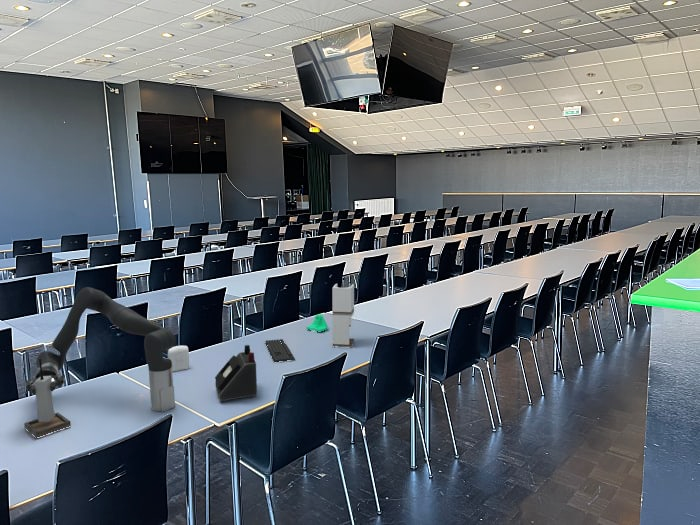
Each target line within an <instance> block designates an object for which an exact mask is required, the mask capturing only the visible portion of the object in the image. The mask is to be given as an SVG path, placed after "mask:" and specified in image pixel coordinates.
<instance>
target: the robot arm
mask: <svg viewBox="0 0 700 525" xmlns="http://www.w3.org/2000/svg"><path fill="white" fill-rule="evenodd" d="M87 309H88V310H90V311H94V312H98V313H100V314H101V315H104V316H105V317H107V319H108V320H109V321H110V323H111V324H112V325H113V326H114V327H116V328H117V329H119V330H121V331H122V332H124V333H127V334H133V335H137V336H142V337H144V340H143V342H144V343H143V346H144V348H143V349H144V354H145V361H146V365H147V367H148V377H149V378H148V379H149V381H148V382H149V391H150V392H149V394H150V409H151V410H153V411H155V412H166V411H168V410H172V409H173V408H176V400H175V399H176V398H175V397H176V396H175V386H174V378H173V377H174V376H173V372H172V361H171V360H170V359H168V357H164V356H163V355H164V354H163V353H164V352H166V351H167V352H168V350H169V349H171V348H172V347H175V345H176V336H175V335H174V333H173V332H172V331H171V330H169V329H168V328H166V327H164V326H162V325H159V324H157V323H155V322H153V321H152V320H149V319H148V318H146V317H144V316H142V315H140V314H139V313H138V312H136V311H134V310H133V309H131V308H129V307H127V306H125V305H123V304H121V303H118V302H117V301H115V300H113V299H112V298H111V297H110V296H109V295H108V294H107V293H105V292H103V291H102V290H99V289H96V288H93V287H89V286H86V287H83V288H81V289H80V290H79V292H78V293H77V295H76V297H75V299H74V302H73V303H72V306H71V308H70V311H69V312H68V315H67V318H66V320H65V322H64V323H63V326H62V327H61V329H60V331H59V332H58V333H57V335H56V336H55V338H54V340H53V341H52V344H51V346H52V348H53V349H55V350H56V351H57V352H59V354H57V353H54V352H52V351H49V350H45V351H44V350H43V351H42V352H40V353H39V354H38V356H37V358H36V362H35V363H36V364H35V365H36V367H37V371H36V374H35V378H34V379H33V380H32V381H31V380H29V379H26V380H25V381H24V384H25V389H26V391H27V392H30V393H31V394H32V395H36V392H35V384H34V382H35V381H36V380H37V379H39V378H40V377H41V376H40V363H39V359H41V364H42V371H43V376H51V377H52V383H51V391H52V392H54V391H55V390H56V389H57V387H62V386H63V385H64V383H65V382H66V375H65V374H62V375H61V376H59V372H60V370H62V369H63V367H64V364H65V362H66V357H67V354H68V353H69V350H70V348H71V346H72V345H73V344H74V341H76V339H77V336H78V334H79V329H80V321H81V318H82V315H83V314H84V312H85V311H86V310H87Z"/></svg>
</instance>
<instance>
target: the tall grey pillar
mask: <svg viewBox="0 0 700 525" xmlns="http://www.w3.org/2000/svg"><path fill="white" fill-rule="evenodd" d="M331 294H332V296H331V297H332V302H331V303H332V308H331V309H332V347H333V346H334V347H333V348H336V347H335V346H338V347H351V346H352V347H353V345H354V343H353V342H355V338H350V328H351V326H352V317H353V316H354V314H355V284H354V283H353V284H351V286H349V287H338V283H335V284H334V285H333V287H332V293H331ZM352 344H353V345H352ZM352 347H351V348H352Z"/></svg>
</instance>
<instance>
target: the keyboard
mask: <svg viewBox="0 0 700 525" xmlns="http://www.w3.org/2000/svg"><path fill="white" fill-rule="evenodd" d="M283 340H284V339H283V338H280V339H269V340H265V341H264V344H266V345H265V347H266V346H267V345H268V346H267V347H266V349H267V348H268V349H267V351H268V350H269V351H268V353H269V352H270V353H269V355H270V357H271V356H272V358H271V359H273V360H272V362H273V361H274V362H279V361H287V360H295V361H296V358H295V356H294V355H293V353H292V351H291V350H290V348H289V346H288V345H287V343H286V342H285V343H286V344H285V343H284V341H285V340H284V341H283ZM280 341H281V342H280ZM265 342H266V343H265ZM281 343H282V344H281ZM274 362H273V363H274Z"/></svg>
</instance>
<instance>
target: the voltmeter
mask: <svg viewBox="0 0 700 525" xmlns="http://www.w3.org/2000/svg"><path fill="white" fill-rule="evenodd" d="M254 353H255V352H252V351H251V347H250V344H245V345H244V351H243V352H242V351H241V352H239V353H237V355H234V354H233V355H232V356H231V357H230V359H229V360H227V362H226V363H225V364H224V365H223V367H222V368H221V369H220V370H219V372H218V373H217V374H216V375H215V377H214V379H215V383H214V384H215V389H216V393H217V395H218V396H217V397H218V399H219V401H221V402H222V403H226V402H227V401H228V400H235V399H238V398H239V399H240V398H246V397H248V398H251V399H252V398H254V397H255V396H257V395H258V383H257V382H258V381H257V378H258V377H257V362H256V360H255V354H254Z"/></svg>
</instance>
